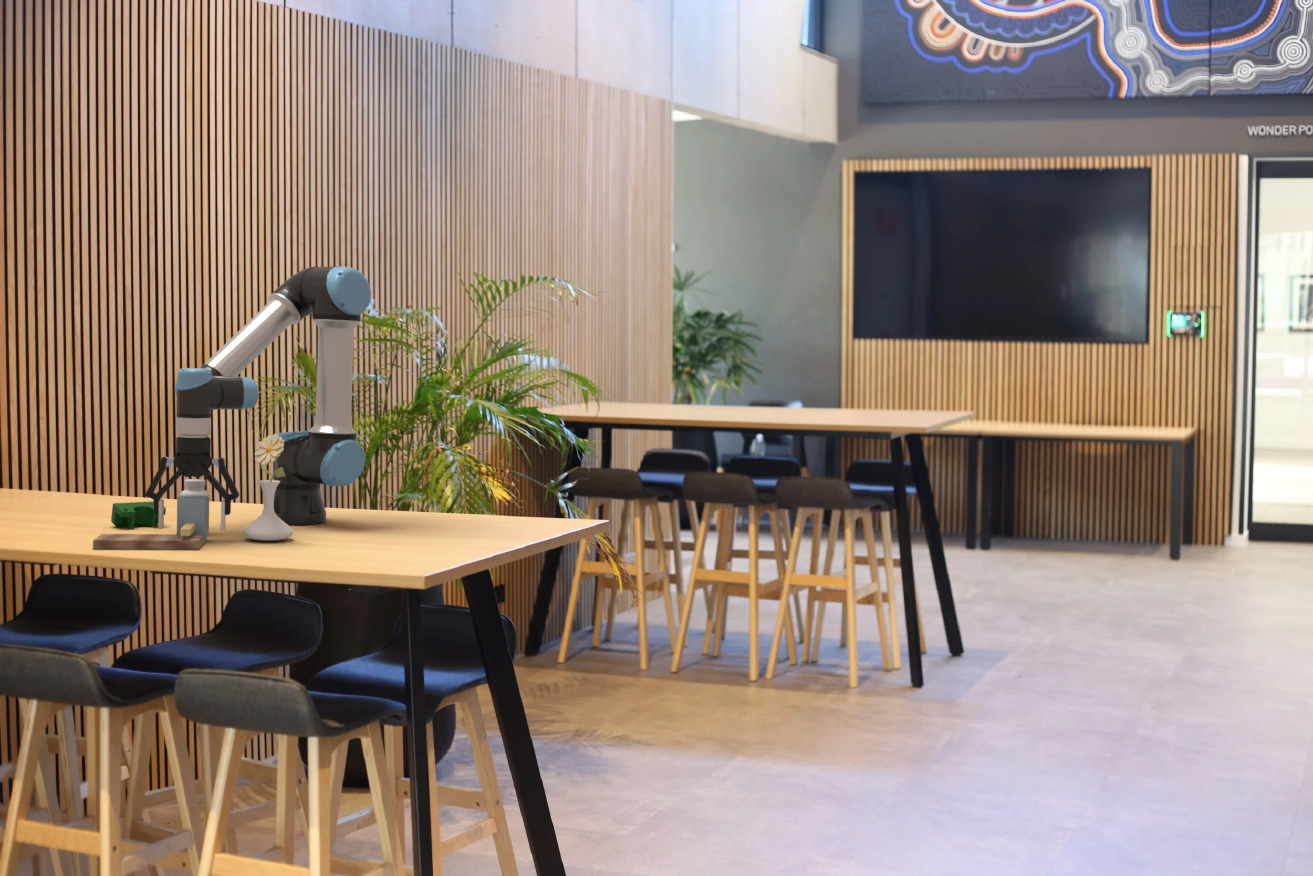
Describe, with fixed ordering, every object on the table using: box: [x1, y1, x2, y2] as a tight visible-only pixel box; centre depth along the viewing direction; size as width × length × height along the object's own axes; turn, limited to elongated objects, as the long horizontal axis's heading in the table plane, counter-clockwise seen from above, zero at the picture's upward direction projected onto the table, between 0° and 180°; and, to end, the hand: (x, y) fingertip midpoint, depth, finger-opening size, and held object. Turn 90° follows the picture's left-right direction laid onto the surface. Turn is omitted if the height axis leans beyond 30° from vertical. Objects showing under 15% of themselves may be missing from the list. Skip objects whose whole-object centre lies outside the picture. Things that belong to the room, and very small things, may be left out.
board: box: [92, 533, 205, 551], centre depth 320 cm, size 22×10×2 cm, turn 101°
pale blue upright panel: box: [176, 494, 209, 543], centre depth 325 cm, size 6×16×10 cm, turn 11°
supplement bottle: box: [179, 478, 210, 533], centre depth 341 cm, size 7×7×13 cm
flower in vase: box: [242, 433, 294, 542], centre depth 334 cm, size 13×11×25 cm
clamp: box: [110, 500, 167, 530], centre depth 350 cm, size 12×6×9 cm, turn 124°
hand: (192, 529), depth 330 cm, fingers open, 13 cm apart
